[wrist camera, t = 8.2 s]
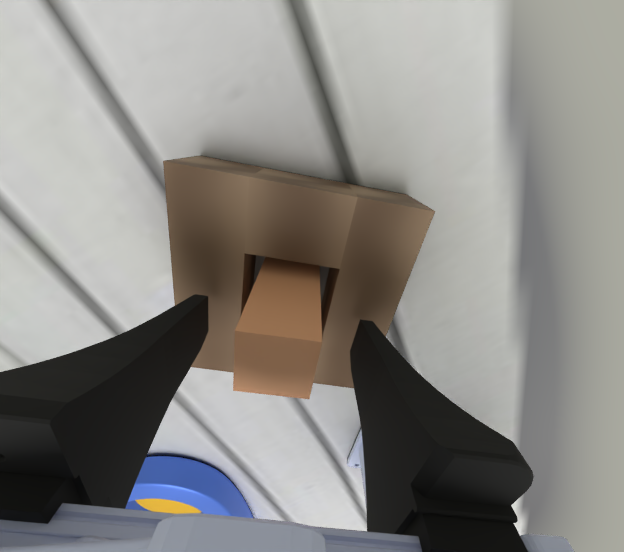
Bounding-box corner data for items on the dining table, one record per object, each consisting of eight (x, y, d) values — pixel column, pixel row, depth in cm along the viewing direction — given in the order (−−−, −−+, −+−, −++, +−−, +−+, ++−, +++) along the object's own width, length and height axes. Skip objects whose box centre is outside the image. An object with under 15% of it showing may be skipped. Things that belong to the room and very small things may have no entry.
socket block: (407, 194, 15) (435, 211, 12) (356, 347, 21) (364, 389, 17) (200, 155, 15) (163, 161, 11) (203, 325, 20) (179, 365, 16)
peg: (319, 255, 17) (322, 342, 10) (311, 297, 18) (309, 399, 11) (269, 248, 17) (234, 330, 9) (265, 291, 18) (233, 390, 11)
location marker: (290, 531, 39) (194, 441, 27) (288, 564, 36) (180, 479, 24) (212, 543, 41) (94, 465, 30) (205, 575, 38) (70, 502, 27)
